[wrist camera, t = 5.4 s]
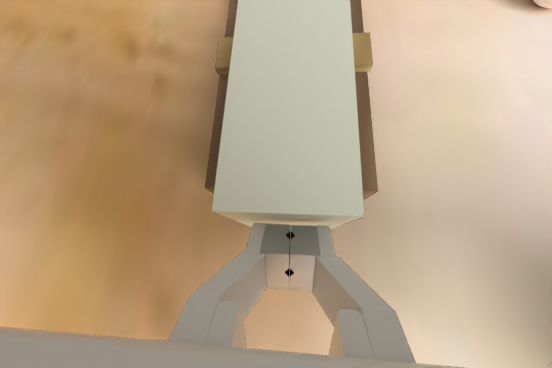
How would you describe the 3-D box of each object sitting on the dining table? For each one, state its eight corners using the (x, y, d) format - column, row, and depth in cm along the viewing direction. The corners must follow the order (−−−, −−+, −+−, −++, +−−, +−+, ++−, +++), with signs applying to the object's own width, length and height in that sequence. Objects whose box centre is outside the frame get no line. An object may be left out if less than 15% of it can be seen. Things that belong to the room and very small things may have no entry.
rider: (250, 226, 14) (211, 210, 7) (261, 75, 17) (242, -35, 10) (327, 229, 14) (364, 216, 7) (324, 73, 17) (347, -41, 10)
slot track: (214, 194, 15) (198, 184, 12) (239, -17, 20) (232, -54, 18) (368, 198, 14) (385, 189, 11) (351, -23, 19) (360, -63, 17)
